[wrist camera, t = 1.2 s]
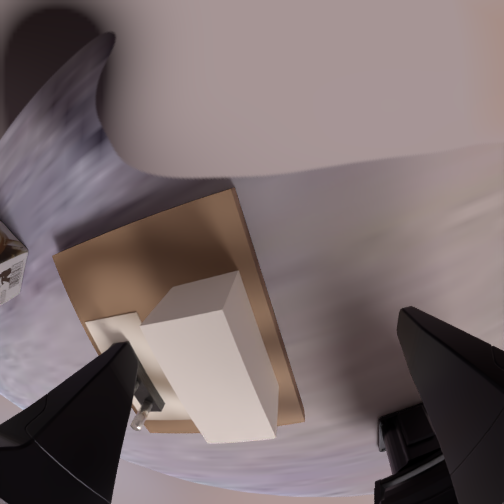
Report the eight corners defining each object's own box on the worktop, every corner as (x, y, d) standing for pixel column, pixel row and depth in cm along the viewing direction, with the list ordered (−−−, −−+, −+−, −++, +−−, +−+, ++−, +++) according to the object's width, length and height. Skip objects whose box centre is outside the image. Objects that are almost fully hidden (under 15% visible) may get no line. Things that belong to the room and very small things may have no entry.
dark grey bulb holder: (165, 402, 23) (150, 435, 19) (149, 403, 23) (133, 434, 19) (129, 340, 21) (105, 370, 17) (113, 342, 22) (88, 371, 18)
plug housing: (278, 385, 21) (276, 438, 16) (221, 394, 22) (208, 443, 17) (238, 270, 19) (222, 309, 14) (172, 286, 20) (139, 325, 14)
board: (304, 409, 24) (304, 422, 22) (154, 423, 26) (149, 433, 25) (234, 187, 19) (230, 189, 17) (62, 250, 22) (51, 256, 20)
